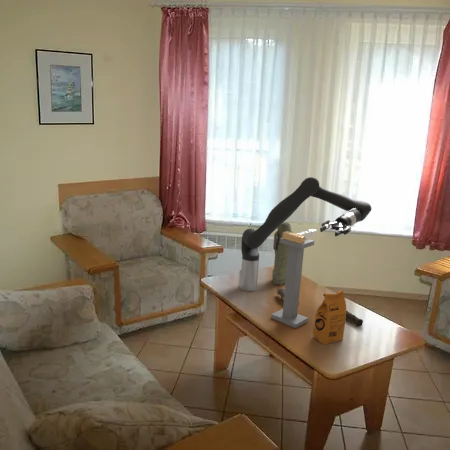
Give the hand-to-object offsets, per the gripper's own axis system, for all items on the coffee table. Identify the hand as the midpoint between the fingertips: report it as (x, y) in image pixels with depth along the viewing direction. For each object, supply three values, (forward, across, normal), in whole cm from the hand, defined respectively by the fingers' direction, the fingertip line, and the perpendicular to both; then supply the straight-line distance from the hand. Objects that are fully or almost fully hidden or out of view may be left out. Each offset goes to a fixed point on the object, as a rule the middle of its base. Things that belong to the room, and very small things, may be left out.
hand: (328, 232), depth 231 cm
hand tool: (+12, +18, +37) cm, 43 cm away
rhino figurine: (+18, -15, +36) cm, 43 cm away
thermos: (+1, -32, +40) cm, 51 cm away
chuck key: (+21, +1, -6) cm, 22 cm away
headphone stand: (+35, +2, +32) cm, 47 cm away
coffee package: (+36, +24, +32) cm, 53 cm away
